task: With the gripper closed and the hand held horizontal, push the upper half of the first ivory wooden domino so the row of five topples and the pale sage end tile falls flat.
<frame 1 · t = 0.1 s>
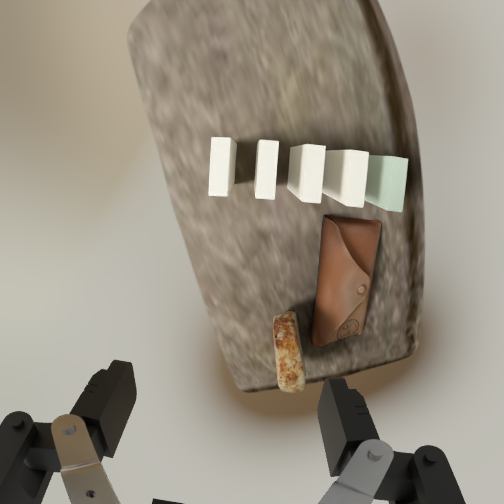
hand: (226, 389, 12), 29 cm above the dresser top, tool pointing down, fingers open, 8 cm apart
domino 5: (357, 175, 38), on the dresser top
domino 4: (327, 171, 38), on the dresser top
domino 3: (295, 168, 38), on the dresser top
stone disc: (288, 331, 45), on the dresser top
domino 2: (262, 165, 38), on the dresser top
sunglasses case: (343, 279, 43), on the dresser top
domino 1: (228, 163, 38), on the dresser top
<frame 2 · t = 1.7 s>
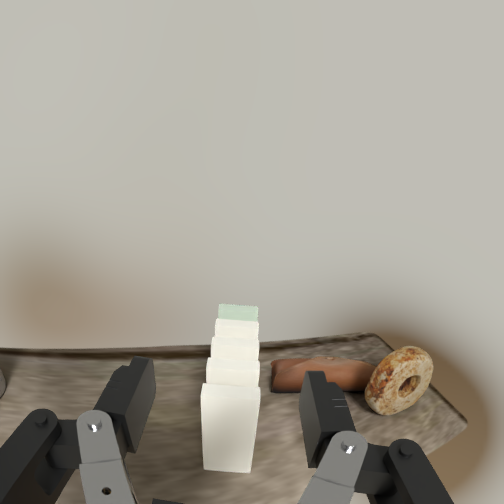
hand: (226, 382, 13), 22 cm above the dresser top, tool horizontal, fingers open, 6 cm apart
domino 5: (234, 379, 45), on the dresser top
domino 4: (232, 397, 41), on the dresser top
domino 3: (231, 417, 37), on the dresser top
stone disc: (389, 409, 39), on the dresser top
domino 2: (229, 440, 33), on the dresser top
sunglasses case: (326, 381, 46), on the dresser top
domino 1: (227, 466, 29), on the dresser top
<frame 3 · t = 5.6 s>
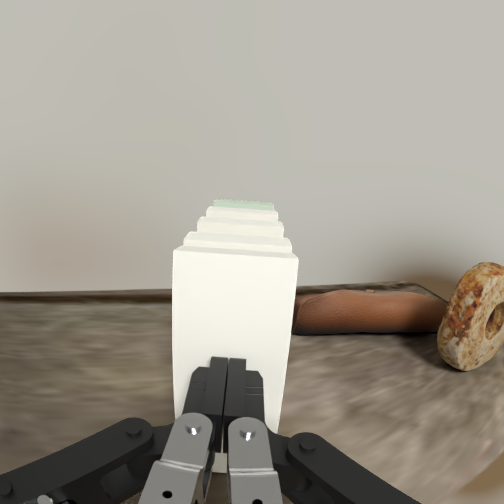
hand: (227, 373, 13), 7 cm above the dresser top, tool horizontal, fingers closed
domino 5: (236, 328, 31), on the dresser top
domino 4: (234, 351, 27), on the dresser top
domino 3: (231, 380, 23), on the dresser top
stone disc: (465, 364, 25), on the dresser top
domino 2: (228, 417, 19), on the dresser top
sunglasses case: (366, 325, 34), on the dresser top
domino 1: (225, 463, 15), on the dresser top, tilted 9°
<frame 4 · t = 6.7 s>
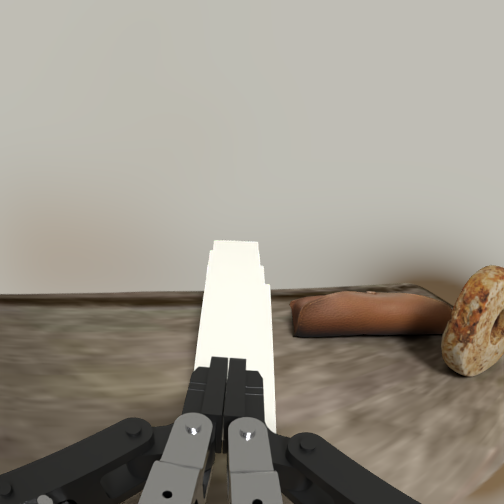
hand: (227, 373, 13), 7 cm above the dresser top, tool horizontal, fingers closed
domino 4: (233, 332, 28), point 1 cm above the dresser top, tilted 67°, touching domino 3, domino 5
domino 3: (232, 359, 24), point 1 cm above the dresser top, tilted 67°, touching domino 2, domino 4
stone disc: (468, 370, 24), on the dresser top
domino 2: (232, 393, 20), point 1 cm above the dresser top, tilted 67°, touching domino 1, domino 3
sunglasses case: (367, 327, 33), on the dresser top
domino 1: (231, 437, 17), point 1 cm above the dresser top, tilted 67°, touching domino 2
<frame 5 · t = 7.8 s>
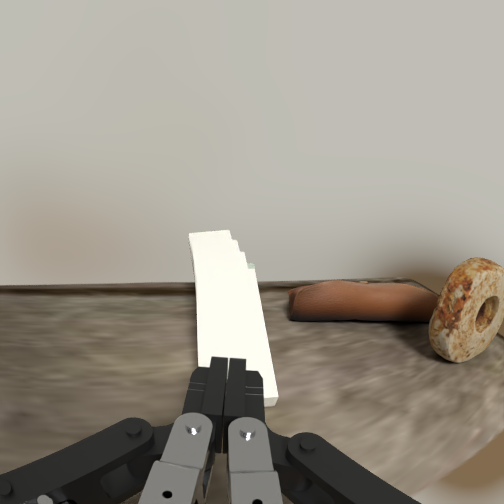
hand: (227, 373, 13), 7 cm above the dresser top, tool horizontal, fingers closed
domino 4: (227, 312, 31), point 1 cm above the dresser top, tilted 68°, touching domino 3, domino 5
domino 3: (230, 335, 27), point 1 cm above the dresser top, tilted 67°, touching domino 2, domino 4
stone disc: (457, 357, 26), on the dresser top
domino 2: (235, 365, 23), point 1 cm above the dresser top, tilted 67°, touching domino 1, domino 3
sunglasses case: (360, 314, 36), on the dresser top
domino 1: (238, 404, 19), point 1 cm above the dresser top, tilted 67°, touching domino 2
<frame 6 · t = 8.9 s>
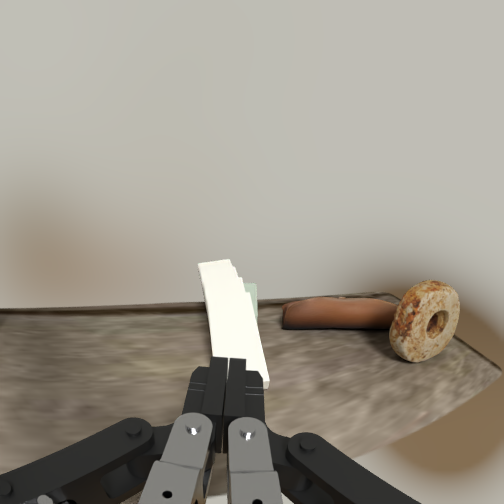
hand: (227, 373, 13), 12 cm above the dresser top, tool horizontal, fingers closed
domino 5: (238, 320, 44), on the dresser top, tilted 90°, touching domino 4
domino 4: (232, 321, 41), point 1 cm above the dresser top, tilted 71°, touching domino 3, domino 5
domino 3: (234, 339, 37), point 1 cm above the dresser top, tilted 69°, touching domino 2, domino 4
stone disc: (416, 358, 35), on the dresser top
domino 2: (238, 359, 33), point 1 cm above the dresser top, tilted 68°, touching domino 1, domino 3
sunglasses case: (340, 323, 46), on the dresser top
domino 1: (243, 387, 29), point 1 cm above the dresser top, tilted 68°, touching domino 2
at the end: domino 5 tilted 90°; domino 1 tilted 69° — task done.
